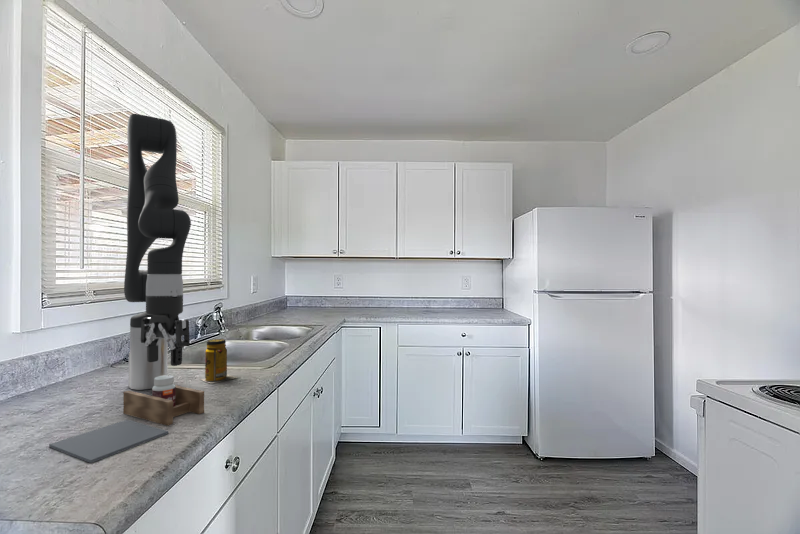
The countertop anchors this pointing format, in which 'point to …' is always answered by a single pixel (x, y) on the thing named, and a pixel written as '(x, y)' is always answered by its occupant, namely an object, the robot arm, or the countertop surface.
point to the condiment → (216, 362)
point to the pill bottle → (164, 388)
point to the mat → (107, 440)
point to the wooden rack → (163, 405)
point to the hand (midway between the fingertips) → (164, 363)
